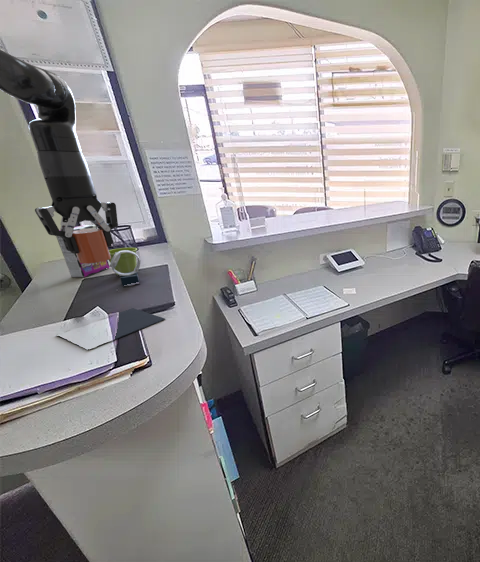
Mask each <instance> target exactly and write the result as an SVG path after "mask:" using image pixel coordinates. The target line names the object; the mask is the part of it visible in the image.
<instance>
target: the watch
mask: <svg viewBox="0 0 480 562" xmlns="http://www.w3.org/2000/svg"><path fill="white" fill-rule="evenodd" d="M126 252H127V253H131V254H133V255H135V256H136V262H137V265H136V267H135V269H134V271H133V272H128V273H121V272H118V271H117V270H115V269H114V268H115V267H116V265H117V263H118V261H119V258H120V254H121V253H126ZM109 266H110V268H111V271H112V272H114V273H116V274H118V275H121V276H119V277H120V282H121V285H122V287H123V286H124V285H127V284H131V283H136V282H140V278H139V274H138V271H139V269H140V266H141V259H140V256H139V255H138V254H137V252H136V253H134V252H132V251H129V250H127V251H126V250H122V251H119V252H118V253H117V252H115V254H114V256H113V258H112V260H111V263H110V262H109ZM116 274H115V275H116Z"/></svg>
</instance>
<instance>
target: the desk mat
mask: <svg viewBox="0 0 480 562" xmlns="http://www.w3.org/2000/svg"><path fill="white" fill-rule="evenodd" d="M118 313H119V322H118V329H117V333H116V336H115V340H114V341H116V340H119V339H121V338H124V337H126V336H128V335H131V334H134V333H136V332H139V331H141V330H144V329H146V328H148V327H151V326H154V325H156V324H158V323H160V322H163V321H165V320H166V318H165V317H161V316H159V315H155V314H153V313H150V312H146V311H143V310H141V309H137V308H134V307H132V308H129V309H127V310H126V309H125V310H124V311H120V312H118Z"/></svg>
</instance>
